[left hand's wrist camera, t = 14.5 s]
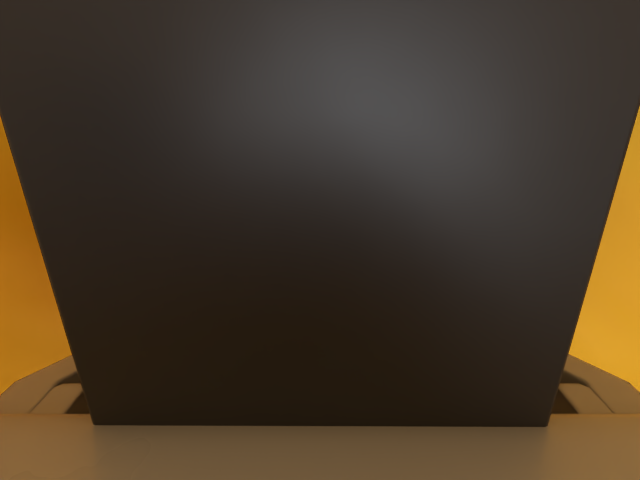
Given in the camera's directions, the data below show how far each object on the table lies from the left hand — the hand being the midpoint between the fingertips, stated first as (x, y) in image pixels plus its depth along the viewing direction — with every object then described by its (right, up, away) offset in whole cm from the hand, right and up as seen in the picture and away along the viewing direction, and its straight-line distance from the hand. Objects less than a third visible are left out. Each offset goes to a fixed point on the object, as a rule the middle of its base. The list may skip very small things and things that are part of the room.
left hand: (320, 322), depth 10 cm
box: (0, +12, +2) cm, 12 cm away
